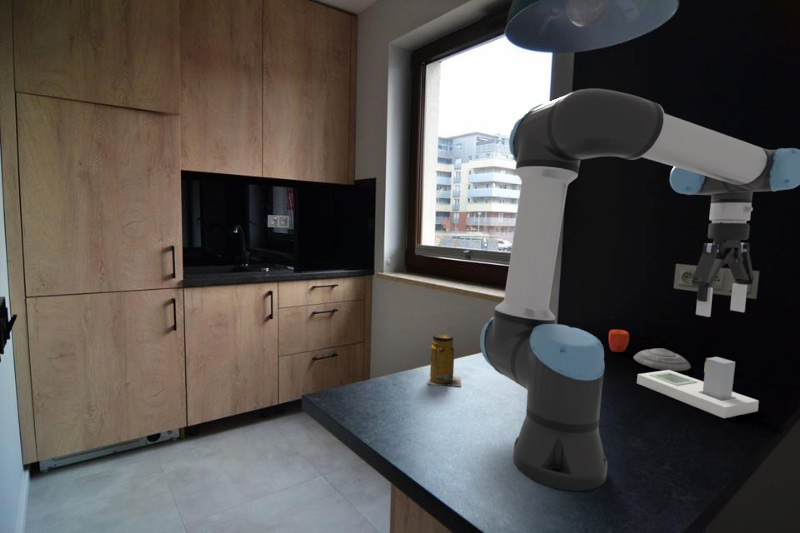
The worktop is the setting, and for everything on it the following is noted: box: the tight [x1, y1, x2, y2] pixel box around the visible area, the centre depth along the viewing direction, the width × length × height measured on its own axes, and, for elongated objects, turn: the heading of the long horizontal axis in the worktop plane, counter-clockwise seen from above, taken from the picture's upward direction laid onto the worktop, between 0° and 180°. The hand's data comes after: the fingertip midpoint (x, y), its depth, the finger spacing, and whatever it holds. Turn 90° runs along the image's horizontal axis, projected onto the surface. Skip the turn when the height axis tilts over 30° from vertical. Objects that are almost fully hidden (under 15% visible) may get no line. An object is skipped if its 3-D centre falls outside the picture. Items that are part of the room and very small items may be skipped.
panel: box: [636, 370, 760, 419], centre depth 108 cm, size 12×22×3 cm, turn 22°
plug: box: [703, 356, 736, 401], centre depth 103 cm, size 4×5×11 cm
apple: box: [608, 329, 630, 353], centre depth 146 cm, size 6×6×8 cm
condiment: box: [427, 333, 462, 387], centre depth 113 cm, size 7×8×12 cm
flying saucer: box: [633, 347, 692, 372], centre depth 132 cm, size 15×15×6 cm
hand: (720, 313), depth 102 cm, fingers open, 13 cm apart
